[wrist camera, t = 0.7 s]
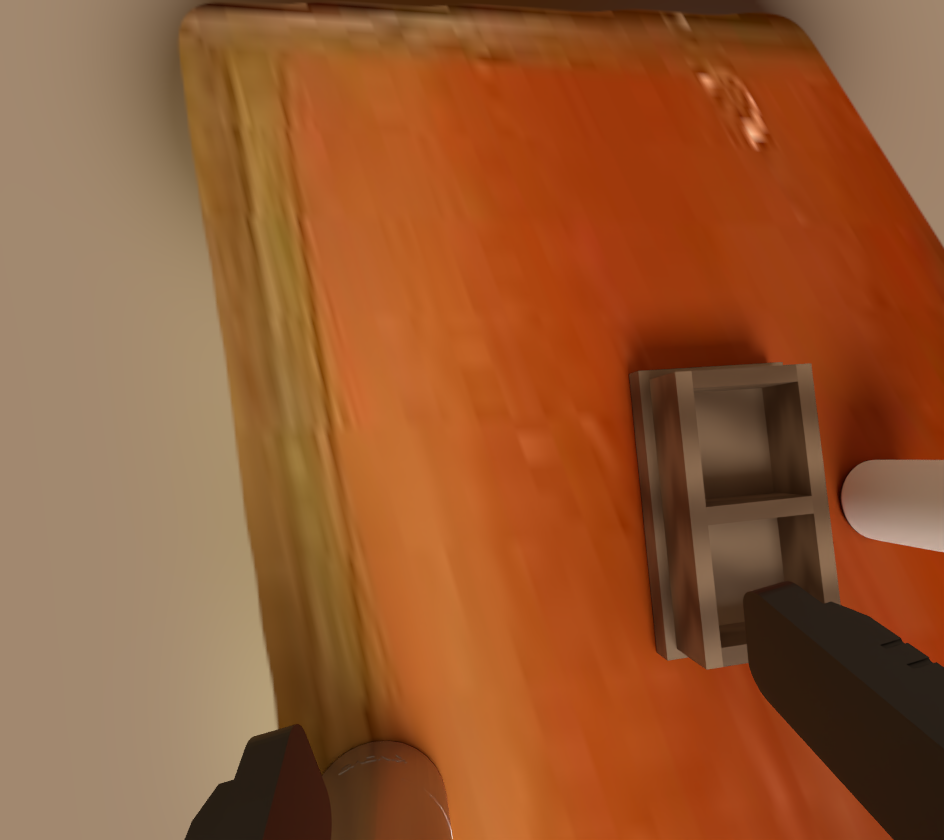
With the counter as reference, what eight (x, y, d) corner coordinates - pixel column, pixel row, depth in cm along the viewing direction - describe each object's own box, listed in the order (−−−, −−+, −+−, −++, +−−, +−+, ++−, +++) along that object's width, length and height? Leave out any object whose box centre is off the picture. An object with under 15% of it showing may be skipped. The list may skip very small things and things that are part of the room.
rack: (799, 630, 39) (857, 655, 34) (656, 652, 37) (696, 682, 32) (768, 365, 40) (819, 353, 35) (628, 374, 39) (663, 362, 34)
